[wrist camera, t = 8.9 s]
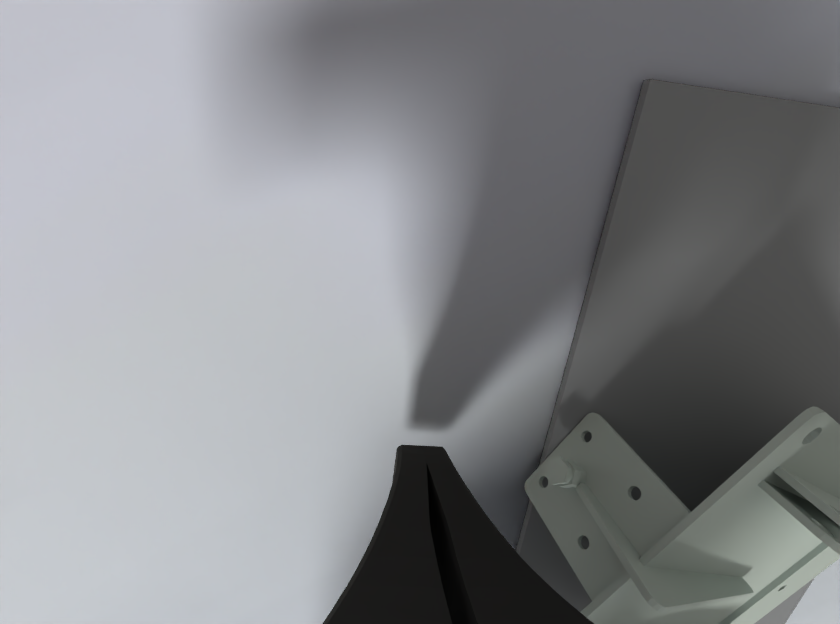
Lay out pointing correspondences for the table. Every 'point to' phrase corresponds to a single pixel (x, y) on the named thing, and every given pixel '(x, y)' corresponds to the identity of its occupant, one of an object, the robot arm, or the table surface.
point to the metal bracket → (693, 526)
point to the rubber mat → (706, 297)
